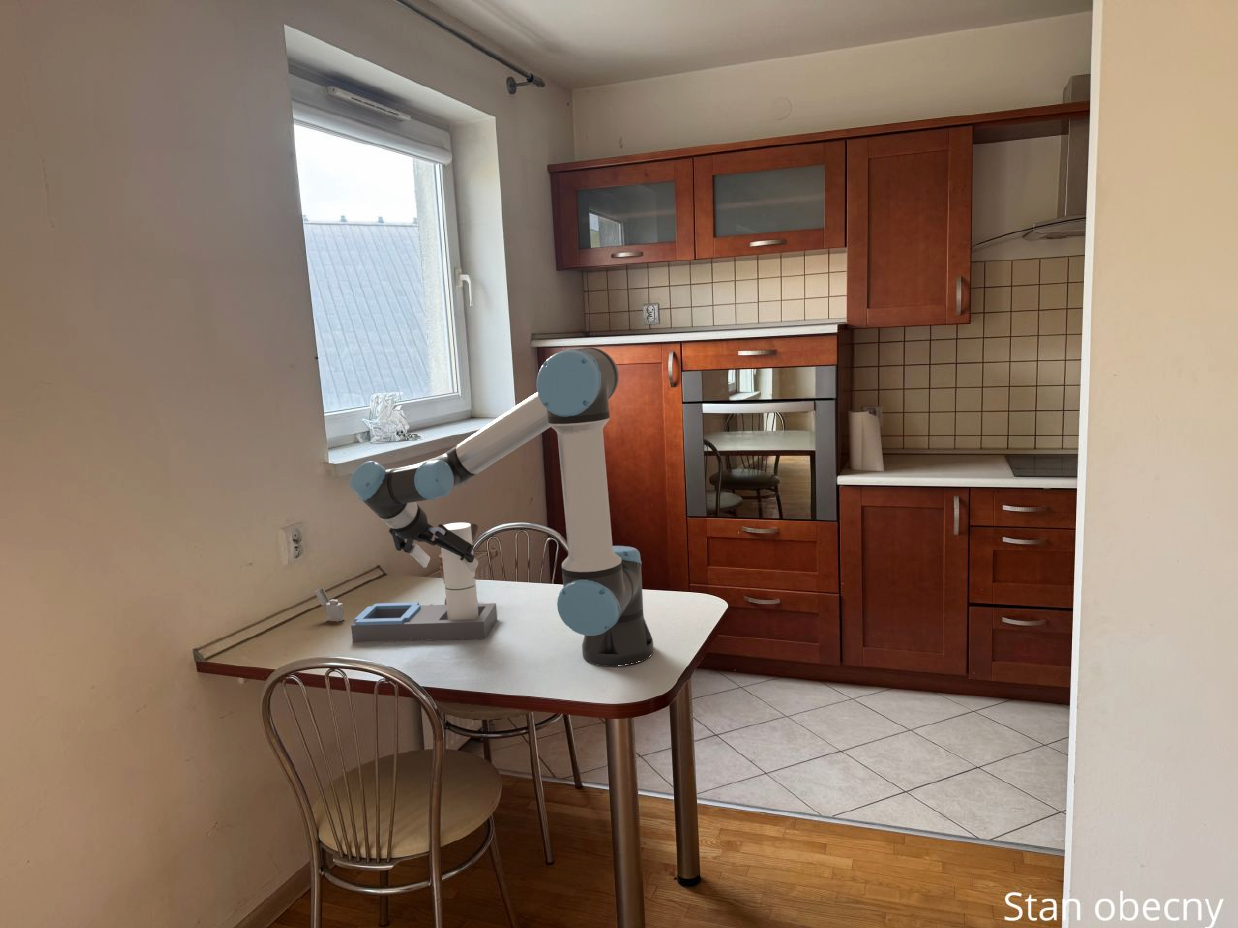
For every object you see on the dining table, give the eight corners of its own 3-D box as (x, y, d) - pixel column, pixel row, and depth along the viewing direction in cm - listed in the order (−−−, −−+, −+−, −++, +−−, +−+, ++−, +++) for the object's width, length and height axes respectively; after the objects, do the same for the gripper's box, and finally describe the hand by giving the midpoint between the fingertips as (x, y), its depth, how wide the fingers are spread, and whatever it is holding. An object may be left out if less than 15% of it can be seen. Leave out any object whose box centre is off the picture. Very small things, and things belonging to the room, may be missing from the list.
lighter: (344, 619, 211) (341, 588, 209) (340, 622, 209) (336, 591, 208) (322, 617, 214) (319, 586, 212) (318, 619, 212) (314, 588, 211)
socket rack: (497, 618, 205) (495, 599, 204) (484, 638, 192) (483, 618, 191) (373, 622, 208) (371, 603, 207) (352, 641, 195) (350, 622, 194)
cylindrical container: (482, 623, 202) (474, 522, 198) (475, 634, 195) (466, 529, 191) (453, 624, 203) (444, 522, 199) (445, 634, 196) (435, 530, 192)
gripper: (350, 527, 183) (401, 574, 199) (444, 533, 173) (490, 583, 188) (365, 498, 187) (414, 547, 203) (457, 503, 177) (501, 554, 192)
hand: (450, 564), depth 196 cm, fingers open, 13 cm apart
